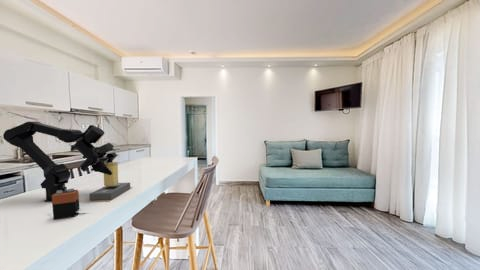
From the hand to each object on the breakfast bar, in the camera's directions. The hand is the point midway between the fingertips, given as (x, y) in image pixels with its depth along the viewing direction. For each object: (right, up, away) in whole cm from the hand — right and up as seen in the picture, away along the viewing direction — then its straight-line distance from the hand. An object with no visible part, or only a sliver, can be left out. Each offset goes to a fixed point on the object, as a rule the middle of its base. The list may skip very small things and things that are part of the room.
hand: (113, 173), depth 97 cm
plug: (-1, -5, 0) cm, 5 cm away
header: (-1, -11, 0) cm, 11 cm away
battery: (-6, -13, -19) cm, 24 cm away
